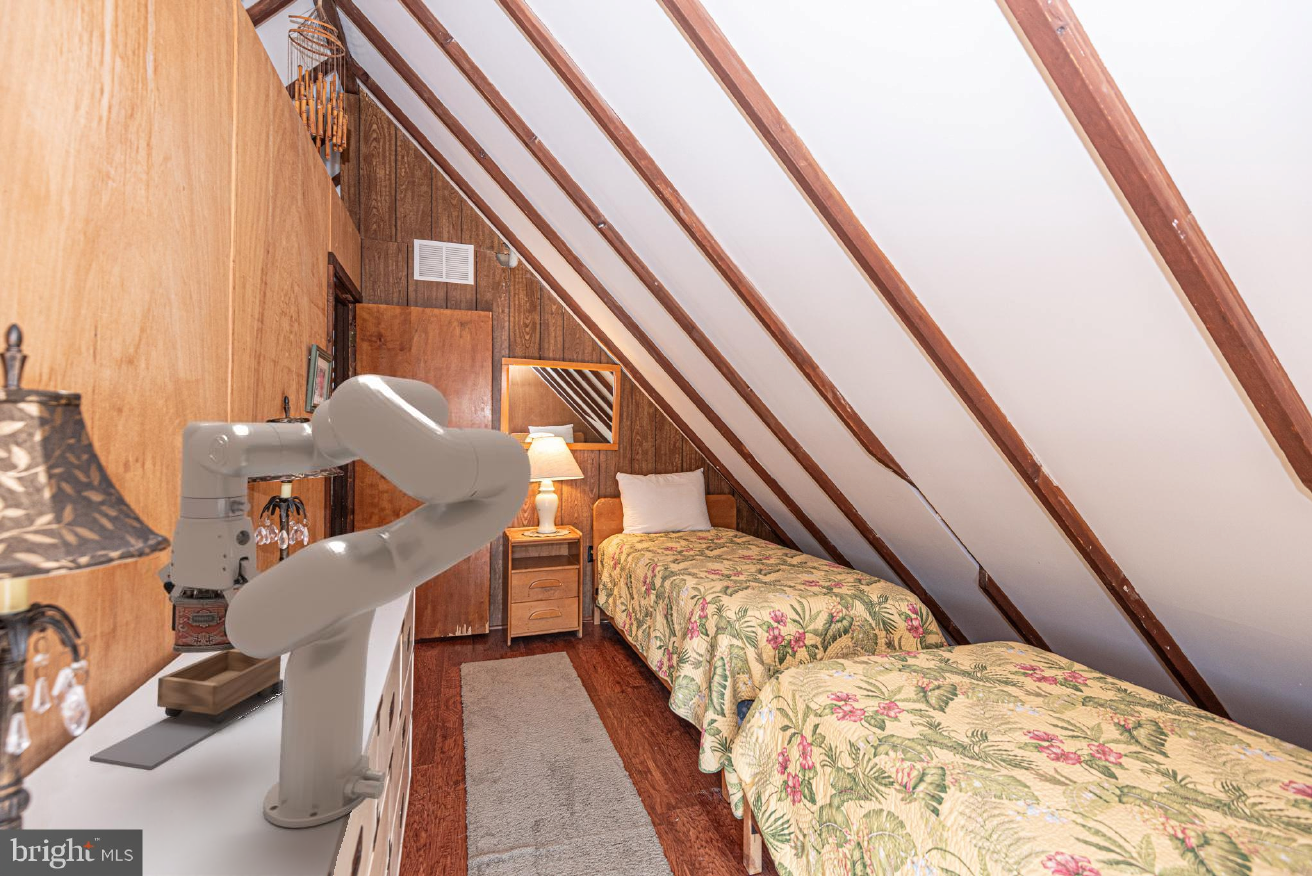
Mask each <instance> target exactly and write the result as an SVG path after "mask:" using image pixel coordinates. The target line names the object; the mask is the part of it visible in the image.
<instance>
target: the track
mask: <svg viewBox="0 0 1312 876" xmlns="http://www.w3.org/2000/svg"><path fill="white" fill-rule="evenodd" d="M283 688H284V679H281V678H280V680H279V681H277V682H275V683H273V688H272V691H271V693H270V694H269V695H268V696H267V697H261V696H258V695H257V693H255V694H253V695H251V696H250V697H248V698H246V699H244V700H242V701H241V702H239V703H237V704H235V705H233V706H231V707H230V708H228V715H227V717H226V718H225V720H224V721H222V722H221V723H214V722H211V721H210V720H209V716H210V714H207V713H200V712H193V711H186V710H183V711H182V713H181V714H180V715H178V716H176V717H172V716H167V717H165V718H163V719H162V720H159V721H157V722H156V723H154V724H152V725H150V726H148V727H146V728H143V729H142V730H140V731H138V732H136V733H134V734H132V735H130V736H128V737H126V738H124V739H122V740H121V741H118V742H116V743H115V744H112V745H110V746H109V747H106V748H104V749H103V750H100V751H98V752H96V753H94V754H92V755H91V756H89V761H93V762H100V763H106V764H111V763H115V764H114V765H118V764H119V766H125V767H132V768H137V769H138V768H139V769H145V770H149V769H150V770H154V769H155V768H157V767H159V766H160V765H162V764H164V763H166V762H168V761H169V760H171V759H173V758H174V757H176V756H177V755H179V754H181V753H182V752H183V753H184V752H185V751H186V750H188V749H189V748H191V747H193V746H194V745H196V744H198V743H200V742H201V741H203V740H205V739H207V738H208V737H211V736H212V735H214V734H215V733H217V732H220V731H221V730H222V729H224V728H226V727H227V726H229V725H230V723H231V722H233V721H234V722H236V721H237V720H236V719H238V718H239V717H241V716H243V715H245V714H246V713H248V712H250V711H251V710H253V709H254V708H256V707H258V706H260V705H262V704H263V703H265V702H266V701H268V700H270V699H271V698H272V697H275V696H276V694H280V693H282V692H283ZM276 697H277V696H276ZM265 704H266V703H265ZM262 706H263V705H262ZM260 707H261V706H260ZM258 708H259V707H258ZM253 711H254V710H253ZM250 713H251V712H250ZM248 714H249V713H248ZM246 715H247V714H246ZM246 715H245V716H246ZM243 717H244V716H243ZM241 718H242V717H241ZM239 719H240V718H239ZM239 719H238V720H239ZM235 720H236V721H235ZM234 722H233V723H234ZM231 724H232V723H231ZM150 770H149V771H150Z"/></svg>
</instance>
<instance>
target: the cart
mask: <svg viewBox="0 0 1312 876" xmlns="http://www.w3.org/2000/svg"><path fill="white" fill-rule="evenodd" d="M281 657H282V655H281V656H278V657H274V658H268V659H259V658H253V657H250V656H247V655H245V654H243V653H241V652H240V651H238V650H236V649H233V650H227V651H218V652H217V653H215V654H212V655H210V656H208V657H205V658H203V659H200V660H199V661H195V662H194V663H191V664H188V665H187V666H184V667H182V668H180V669H177V670H174V671H172V672H170V673H168V674H165V675H163V676H161V677H159V678H158V679H157V680H158V681H157V701H156V702H157V704H156V706H157V707H158V708H165V709H164V714H165V715H166V716H167V717H170V716H172V717H176V716H178V715H180V714H181V713H182V711H183V710H186V711H193V712H200V713H207V714H210V716H209V720H210V721H211V722H214V723H221V722H222V721H224V720H225V718H226V717H227V715H228V708H230V707H231V706H233V705H235V704H237V703H239V702H241V701H242V700H244V699H246V698H248V697H250V696H251V695H253V694H255V693H257V695H258V696H261V697H267V696H268V695H269V694H270V693H271V691H272V688H273V683H275V682H277V681H279V680H280V679H281V665H282V664H281V659H282V658H281Z"/></svg>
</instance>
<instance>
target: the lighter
mask: <svg viewBox="0 0 1312 876" xmlns="http://www.w3.org/2000/svg"><path fill="white" fill-rule="evenodd" d="M234 584H237V581H236V580H234ZM185 590H186V593H187V594H185V595H180V596H177V597H175V598H174V604H175V605H176V624H175V631H174V635H175V636H174V643H173V645H172V646H173V647H172V651H173V653H175V654H181V653H182V654H197V653H200V654H201V653H215V652H217V653H219V652H221V651H227V650H233V649H236V648H235V647H234V646H233V645H232V644H231V642H230V641H229V639H228V637H226V636H225V635H224V623H225V609H227V608H228V607H229V604H228V602H227V600H226V598H225V596H224V594H223V592H222V591H215V590H204V589H194V588H189V587H185ZM195 590H196V592H195V593H194V591H195ZM236 593H237V592H235V594H236Z"/></svg>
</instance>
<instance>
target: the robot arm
mask: <svg viewBox="0 0 1312 876" xmlns="http://www.w3.org/2000/svg"><path fill="white" fill-rule="evenodd" d="M450 413H451V412H450V406H449V403H448V401H447V399H446V398H445V396H444V395H443V393H442V392H440V390H439V389H437V388H436V387H434V386H433V385H431V384H429V383H426V382H423V381H420V380H416V379H411V378H402V377H395V376H390V375H381V374H370V373H368V374H359V375H356V376H353V377H350V378H348V379H347V380H344V381H343V382H342V383H341V384H340V385H338V386H337V388H336V389H335V390H334V391H333V392H332V395H331V396H330V398H329V399H326V400H324V401H323V402H321V403H320V404H319V405H317V406H316V408H315V409H314V411H313V413H312V416H311V419H310V421H308V422H307V421H306V422H301V423H300V422H299V423H292V422H291V423H290V422H262V421H261V422H247V421H246V422H243V421H239V422H235V421H234V422H228V421H199V420H198V421H192V422H189V423H188V424H187V425H186V426H185V427H184V428H183V430H182V444H181V472H180V473H181V474H180V475H181V477H180V479H181V480H180V497H179V499H180V504H179V517H178V518H177V521H176V524H175V528H174V532H173V536H172V542H171V551H170V558H169V559H170V560H169V562H168V563H167V564H165V565H164V566H162V567H161V568H159V569H158V571H157V576H158V578H159V580H160V581H161V583H162V587H163V589H164V591H165V592H166V593H167V594H168V601H169V603H170V604H172V612H171V613H172V614H171V616H172V617H171V631H172V632H175V624H176V605H175V604H174V598H175V597H177V596H180V595H185V594H187V593H186V590H185V587H189V588H194V589H204V590H215V591H219V592H220V591H222V592H223V594H224V596H225V598H226V600H227V602H228V604H229V607H228V608H227V609H225V623H224V635H225V636H226V637H228V639H229V641H230V642H231V644H232V645H233V646H234V647H235V648H236V649H237V650H238V651H240V652H241V653H243V654H245V655H247V656H250V657H253V658H259V659H268V658H274V657H278V656H281V657H282V655H286V654H288V653H289V655H288V658H287V662H286V666H285V670H284V676H283V694H282V710H281V711H282V714H281V732H280V733H281V736H280V750H279V751H280V756H279V775H278V781H277V782H276V783H275V784H274V785H273V786H272V787H271V788H270V789H269V790H268V791H267V792H266V795H265V797H264V800H263V815H264V817H265V818H266V820H267V821H268V822H270V823H271V824H274V825H275V826H281V827H284V828H291V829H292V828H295V829H296V828H308V827H313V826H314V827H315V826H318V825H323V824H326V823H329V822H331V821H334V820H337V819H339V818H341V817H343V816H345V815H347V814H349V813H351V812H352V811H353V810H355V809H356V808H357V807H359V806H361V804H363V803H364V801H365V800H366V799H373V800H379V798H381V796H382V795H383V792H384V788H385V783H384V781H385V779H386V777H387V774H386V773H387V772H385V771H380V770H375V771H374V770H371V768H370V755H365V754H363V742H364V741H363V740H364V724H365V723H364V721H365V702H366V699H365V698H366V682H367V680H366V679H367V668H368V667H367V666H368V652H369V645H370V644H369V641H370V638H371V637H370V635H371V631H372V626H373V622H374V619H375V614H376V613H377V608H380V607H383V606H385V605H388V604H390V603H392V602H395V601H396V600H398V599H400V598H402V597H403V596H405V595H407V594H408V593H410V592H411V591H412V590H415V588H417V587H419V586H420V585H422V584H424V583H425V582H427V581H429V580H431V579H433V578H435V577H436V576H438V575H440V574H441V573H443V572H445V571H447V570H449V569H450V568H451V567H453V566H454V565H457V564H459V562H462V561H463V560H465V559H467V558H468V557H470V556H472V555H473V554H475V553H477V552H478V551H480V550H482V549H483V548H484V547H486V546H487V545H489V544H491V542H493V541H495V539H497V538H498V537H499V536H500V535H501V534H503V533H504V532H505V531H506V530H507V529H508V528H509V527H510V525H511V524H512V523H513V522H514V521H515V519H516V518H517V516H518V515H519V514H520V512H521V510H522V509H523V507H524V504H525V502H526V500H527V497H528V494H529V490H530V485H531V480H532V479H531V476H532V471H531V462H530V457H529V453H528V452H527V449H526V448H525V446H524V445H523V444H522V443H521V442H520V441H519V439H517V438H515V437H514V436H512V435H511V434H508V433H506V432H504V431H501V430H497V429H491V428H480V427H479V428H475V427H473V428H472V427H448V424H449V421H450ZM357 460H362V461H363V462H364V463H365V464H367V465H369V466H370V467H371V468H372V469H373V470H375V471H376V472H378V474H380V475H382V476H383V478H385V479H386V480H388V481H389V482H390V483H392V484H393V485H394V486H395V487H397V488H398V489H399V490H401V491H402V492H403V493H405V494H406V495H408V496H410V497H411V498H412V499H415V500H417V501H420V502H422V503H424V504H422V505H419V507H417V508H415V509H414V510H412V511H410V512H409V513H407V514H406V515H404V516H402V517H400V518H398V519H397V520H394V521H392V522H391V523H388V524H386V525H382V526H379V527H373V528H370V529H364V530H359V531H354V532H351V533H345V534H341V535H334V536H332V537H329V538H324V539H321V540H319V541H316V542H314V543H311V544H309V545H307V546H305V547H303V548H301V549H299V550H298V551H296V552H294V553H293V554H290V555H289V556H288V557H286V558H284V559H283V560H281V561H280V562H278V563H277V564H274V565H272V566H271V567H270V568H268V569H266V570H265V571H263V572H260V570H258V568H257V566H258V565H257V546H256V545H257V544H256V543H257V542H256V534H255V529H254V524H253V520H252V517H248V516H247V512H249V511H250V510H251V506H252V505H251V504H250V503H249V502H248V495H247V494H248V482H249V481H248V479H249V478H254V477H255V478H257V477H266V476H267V477H268V476H280V475H281V476H282V475H297V474H305V473H312V472H317V471H321V470H325V469H326V470H327V469H331V468H335V467H339V466H344V465H347V464H348V463H351V462H352V461H357ZM234 580H236V581H237V584H234ZM236 590H237V591H236ZM235 591H236V592H235ZM235 593H236V594H235ZM194 594H196V590H195V591H194Z"/></svg>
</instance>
